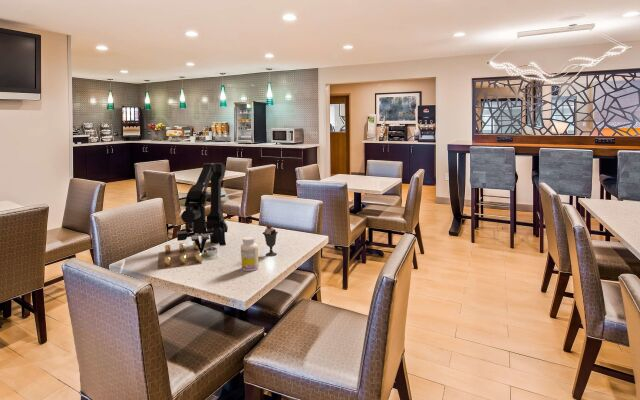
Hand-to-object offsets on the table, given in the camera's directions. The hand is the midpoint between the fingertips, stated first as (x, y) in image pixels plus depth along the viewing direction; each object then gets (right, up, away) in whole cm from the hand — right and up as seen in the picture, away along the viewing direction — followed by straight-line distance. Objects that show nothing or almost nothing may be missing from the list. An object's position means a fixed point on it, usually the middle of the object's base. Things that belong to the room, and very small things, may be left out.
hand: (201, 252), depth 175 cm
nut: (+4, -1, +1) cm, 4 cm away
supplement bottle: (+24, -5, -14) cm, 28 cm away
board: (-6, -3, -2) cm, 7 cm away
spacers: (-7, -2, -2) cm, 8 cm away
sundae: (+30, -1, +3) cm, 31 cm away
